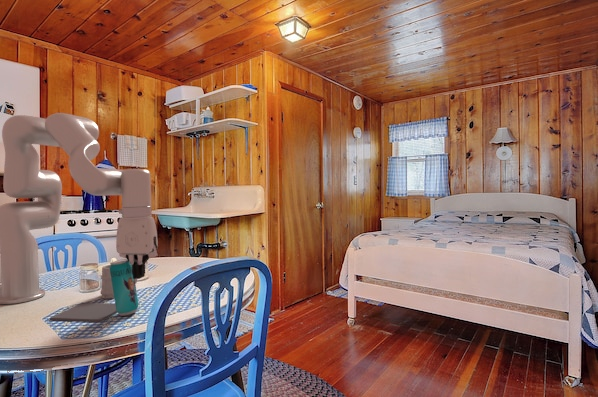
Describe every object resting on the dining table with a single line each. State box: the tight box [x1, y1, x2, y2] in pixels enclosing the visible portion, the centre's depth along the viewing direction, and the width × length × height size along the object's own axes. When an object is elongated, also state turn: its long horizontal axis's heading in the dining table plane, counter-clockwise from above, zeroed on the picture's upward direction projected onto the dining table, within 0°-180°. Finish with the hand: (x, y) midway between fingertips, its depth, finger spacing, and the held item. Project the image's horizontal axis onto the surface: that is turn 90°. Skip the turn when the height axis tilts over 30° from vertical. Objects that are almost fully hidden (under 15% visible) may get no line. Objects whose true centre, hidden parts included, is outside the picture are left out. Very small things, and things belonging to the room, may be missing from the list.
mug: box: [100, 264, 138, 300], centre depth 115 cm, size 8×12×12 cm, turn 139°
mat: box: [49, 302, 118, 323], centre depth 98 cm, size 15×12×1 cm
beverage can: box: [109, 258, 139, 317], centre depth 96 cm, size 6×6×15 cm
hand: (138, 277), depth 96 cm, fingers closed
